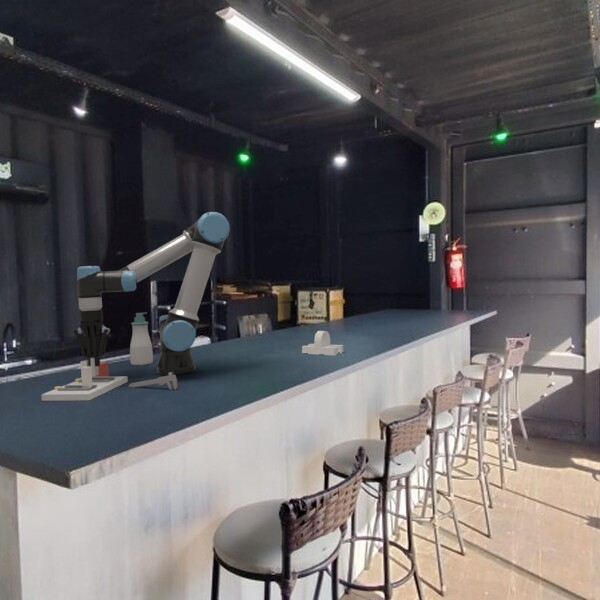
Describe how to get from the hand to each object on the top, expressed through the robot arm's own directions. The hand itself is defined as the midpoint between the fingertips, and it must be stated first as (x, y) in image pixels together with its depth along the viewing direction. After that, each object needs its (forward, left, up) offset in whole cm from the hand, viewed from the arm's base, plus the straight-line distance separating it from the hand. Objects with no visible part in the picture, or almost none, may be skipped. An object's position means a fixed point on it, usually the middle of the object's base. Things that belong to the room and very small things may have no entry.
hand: (95, 375), depth 169 cm
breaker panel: (0, +6, -4) cm, 7 cm away
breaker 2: (-4, +12, -2) cm, 13 cm away
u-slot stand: (-78, -65, -5) cm, 101 cm away
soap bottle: (+3, -43, -4) cm, 43 cm away
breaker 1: (+4, 0, -2) cm, 4 cm away
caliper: (-22, +3, -5) cm, 23 cm away
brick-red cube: (+7, -13, -4) cm, 15 cm away
